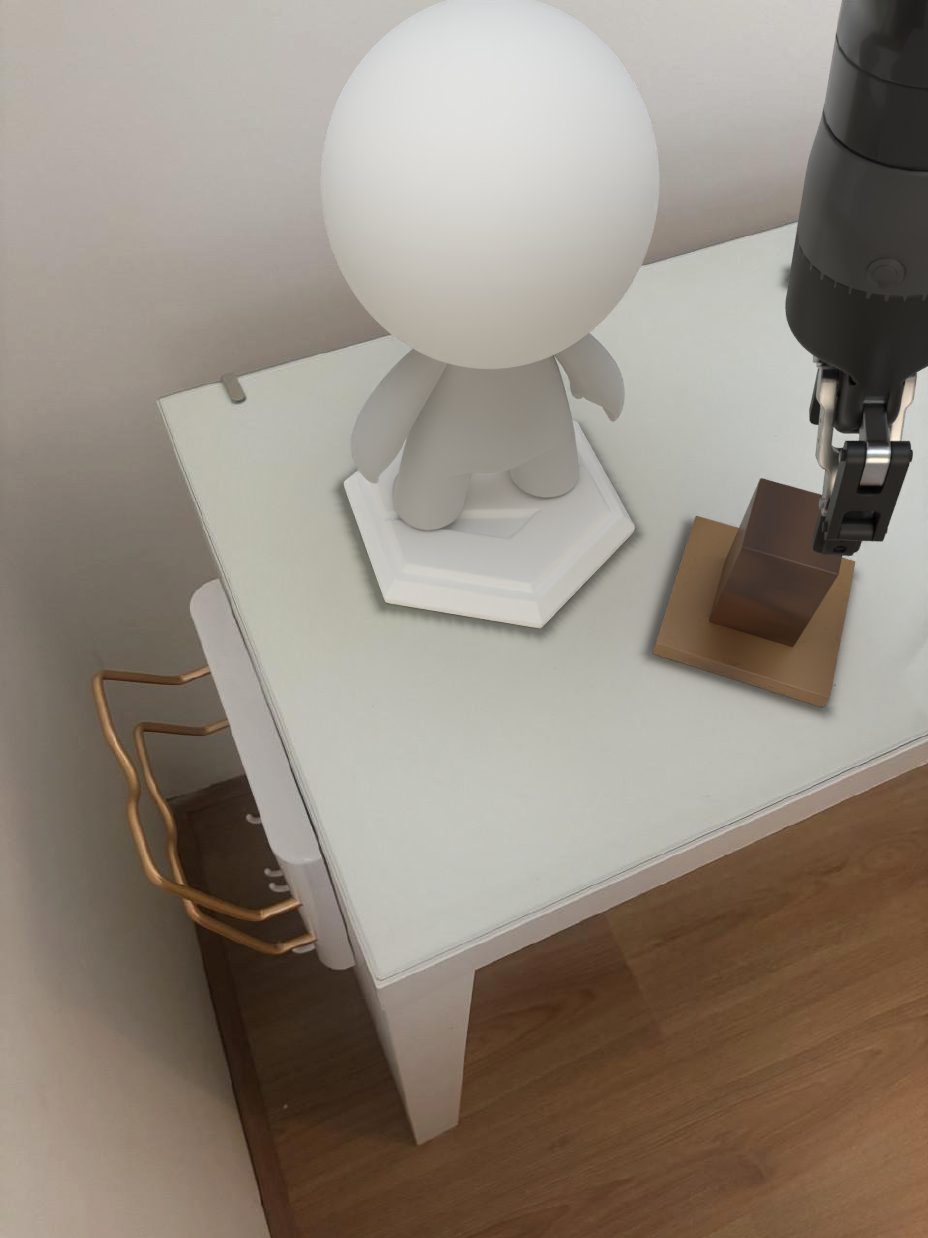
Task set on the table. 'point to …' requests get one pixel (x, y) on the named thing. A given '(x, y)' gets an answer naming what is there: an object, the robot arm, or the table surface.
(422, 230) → the big headed doll
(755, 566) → the block
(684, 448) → the table surface
